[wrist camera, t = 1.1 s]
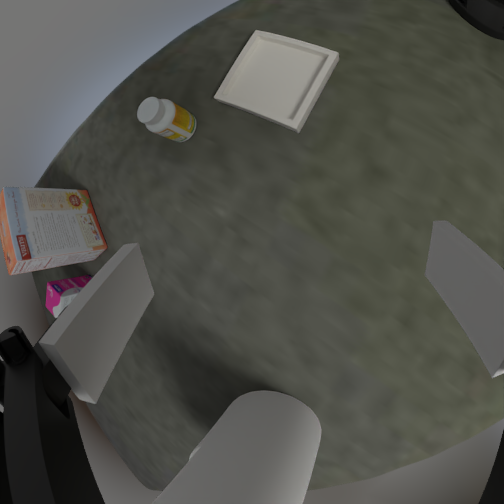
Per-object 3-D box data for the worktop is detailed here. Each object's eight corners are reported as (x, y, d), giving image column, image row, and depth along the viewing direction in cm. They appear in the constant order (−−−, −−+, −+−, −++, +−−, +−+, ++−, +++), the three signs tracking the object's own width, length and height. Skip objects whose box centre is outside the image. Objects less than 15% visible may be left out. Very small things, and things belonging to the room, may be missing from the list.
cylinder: (278, 373, 41) (187, 514, 15) (341, 440, 38) (306, 581, 12) (208, 412, 46) (112, 510, 20) (266, 469, 44) (206, 575, 17)
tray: (259, 36, 37) (255, 29, 35) (339, 59, 33) (338, 52, 31) (219, 102, 40) (213, 97, 38) (299, 133, 37) (296, 129, 35)
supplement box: (105, 286, 52) (61, 297, 41) (101, 310, 53) (59, 324, 42) (89, 273, 53) (46, 281, 42) (85, 296, 54) (44, 307, 44)
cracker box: (74, 205, 53) (-6, 205, 34) (88, 189, 51) (2, 184, 32) (94, 262, 52) (7, 276, 33) (109, 248, 50) (16, 260, 31)
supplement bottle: (181, 149, 43) (143, 135, 34) (165, 130, 44) (127, 114, 35) (203, 125, 41) (169, 105, 32) (186, 106, 42) (151, 86, 33)
